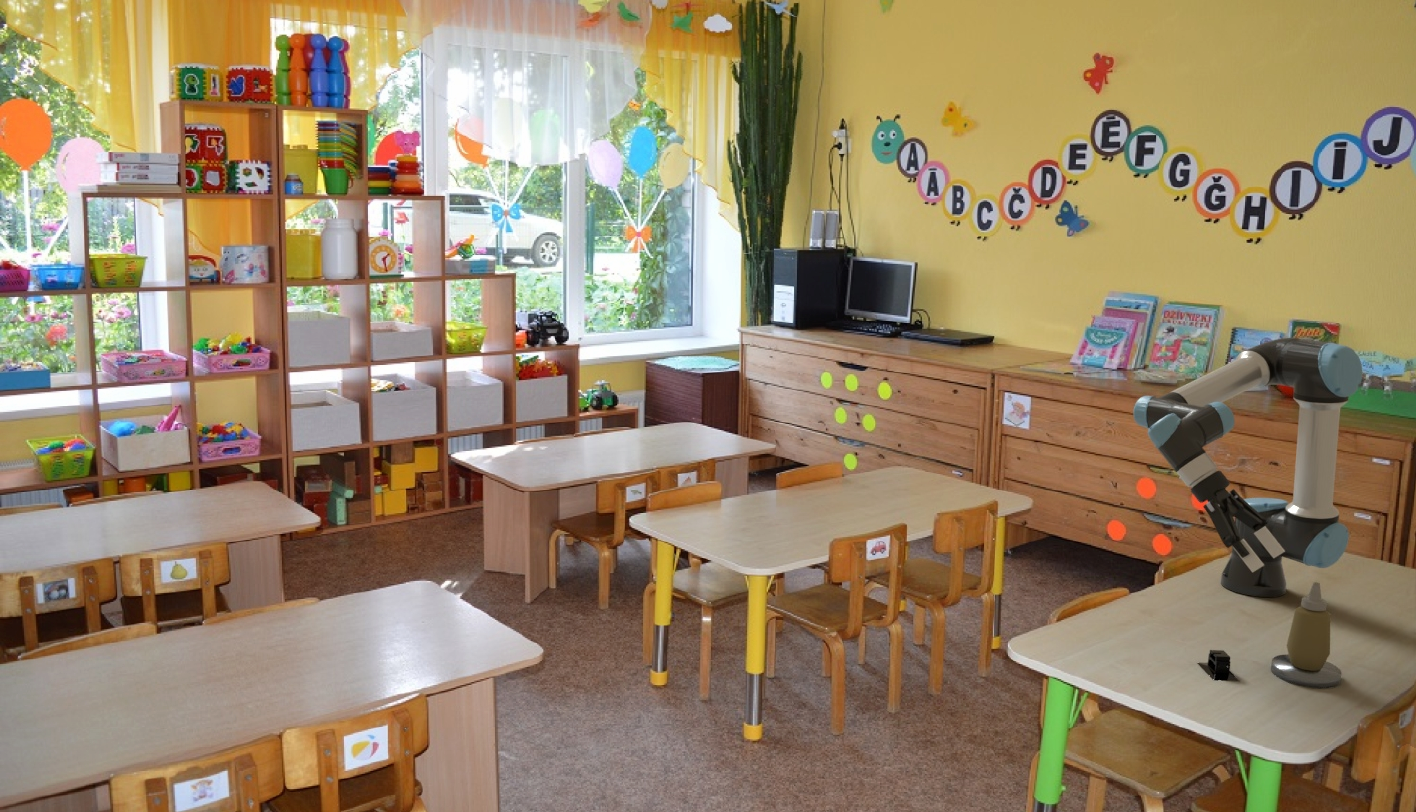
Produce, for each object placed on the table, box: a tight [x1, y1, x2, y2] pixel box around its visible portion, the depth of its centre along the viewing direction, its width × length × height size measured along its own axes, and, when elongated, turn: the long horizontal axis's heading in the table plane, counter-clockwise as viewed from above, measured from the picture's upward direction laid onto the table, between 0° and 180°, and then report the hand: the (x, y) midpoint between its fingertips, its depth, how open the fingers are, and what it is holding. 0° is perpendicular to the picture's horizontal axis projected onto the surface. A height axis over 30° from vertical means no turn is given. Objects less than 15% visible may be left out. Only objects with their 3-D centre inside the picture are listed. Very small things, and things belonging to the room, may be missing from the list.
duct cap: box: [1270, 653, 1343, 689], centre depth 250 cm, size 13×13×2 cm
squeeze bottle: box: [1286, 581, 1331, 671], centre depth 249 cm, size 8×8×18 cm
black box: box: [1196, 649, 1241, 682], centre depth 251 cm, size 12×7×5 cm, turn 179°
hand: (1269, 561), depth 253 cm, fingers open, 13 cm apart
